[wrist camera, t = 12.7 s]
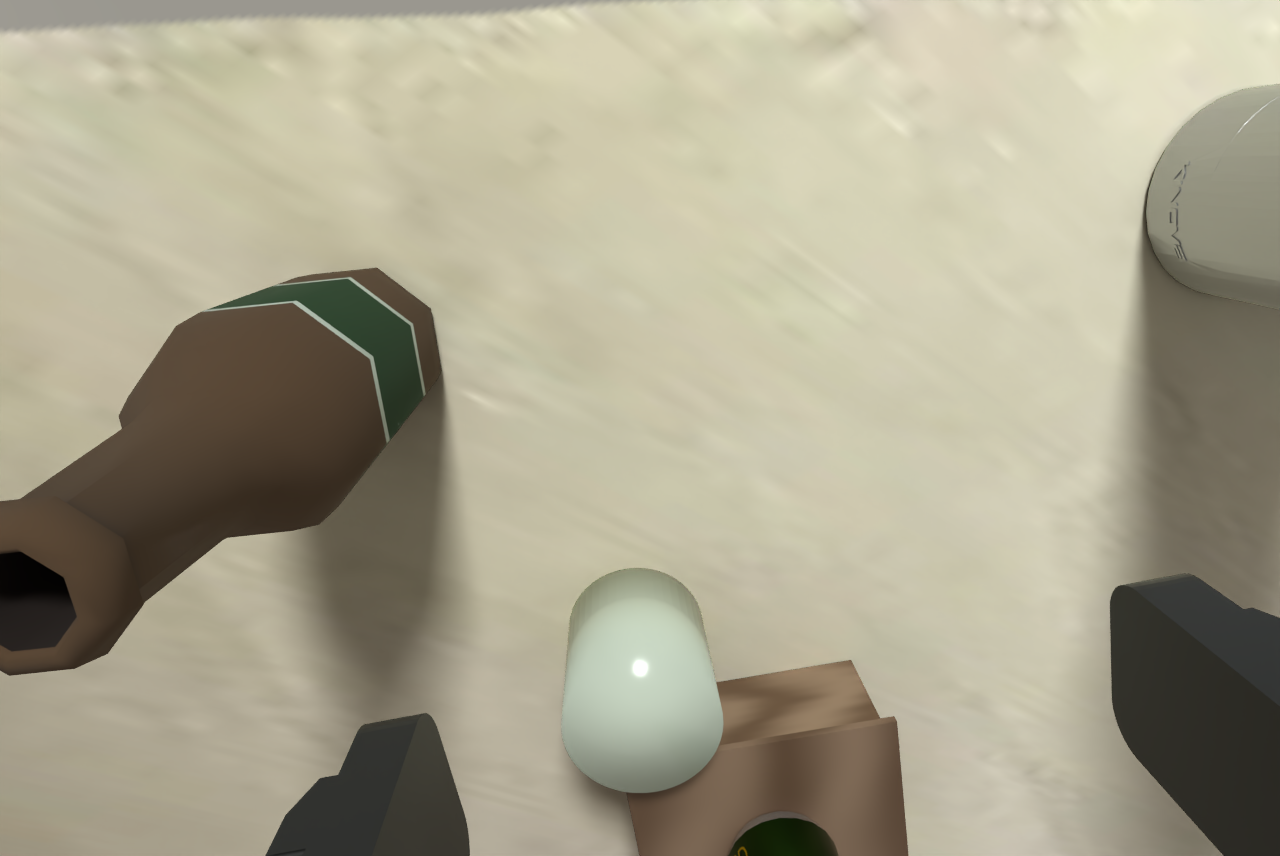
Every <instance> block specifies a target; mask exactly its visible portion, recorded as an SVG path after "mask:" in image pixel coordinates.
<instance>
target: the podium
mask: <svg viewBox="0 0 1280 856" xmlns="http://www.w3.org/2000/svg"><path fill="white" fill-rule="evenodd" d="M716 684H717V689H718V693H719V698H720V703H721V707H722V712H723V732H722V737H721V740H720V743H719V746H718V748H717V750H716V752H715V754H714V755H713V757H712V758H711V760H710V761H709V762H708V764H707V765H706V766H705V767H704V768H703V769H702V770H701V771H700V772H698V773H697V774H696V775H695V776H693V777H692V778H690V779H689V780H687V781H685V782H683V783H681V784H679V785H677V786H675V787H672V788H669V789H666V790H662V791H657V792H650V793H630V792H627V797H628V802H629V807H630V811H631V816H632V821H633V826H634V831H635V835H636V840H637V845H638V850H639V855H640V856H728V854H729V851H730V848H731V845H732V843H733V841H734V839H735V837H736V835H737V833H738V832H739V831H740V830H741V829H742V828H743V827H744V826H745V825H746V824H747V823H748V822H750V821H752V820H754V819H755V818H757V817H759V816H761V815H764V814H768V813H772V812H776V811H781V812H795V813H798V814H802V815H805V816H807V817H808V818H810V819H811V820H813V821H814V822H816V823H817V824H818V825H820V826H821V827H822V828H823V829H824V830H825V831H826V832H827V833H828V835H829V836H830V837H831V839H832V840H833V842H834V843H835V846H836V849H837V852H838V854H839V856H908V846H907V834H906V822H905V811H904V799H903V787H902V775H901V764H900V752H899V740H898V728H897V721H896V719H895V717H894V716H893V717H887V718H881V719H880V717H879V715H878V713H877V711H876V709H875V707H874V705H873V703H872V701H871V699H870V697H869V695H868V693H867V691H866V689H865V687H864V685H863V683H862V681H861V679H860V677H859V675H858V673H857V671H856V669H855V667H854V665H853V663H852V661H851V660H849V661H843V662H837V663H831V664H825V665H819V666H813V667H807V668H801V669H795V670H789V671H783V672H777V673H771V674H765V675H759V676H753V677H747V678H741V679H735V680H729V681H723V682H717V683H716Z"/></svg>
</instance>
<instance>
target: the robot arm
mask: <svg viewBox="0 0 1280 856" xmlns="http://www.w3.org/2000/svg"><path fill="white" fill-rule="evenodd" d="M1146 217H1147V228H1148V235H1149V238H1150V241H1151V244H1152V247H1153V250H1154V253H1155V254H1156V256H1157V258H1158V259H1159V261H1160V263H1161V264H1162V266H1163V267H1164V269H1165V270H1166V271H1167V272H1168V273H1170V274H1171V275H1172V276H1173V277H1174V278H1175V279H1176V280H1177V281H1178V282H1180V283H1182V284H1184V285H1185V286H1187V287H1189V288H1191V289H1192V290H1195V291H1199V292H1202V293H1206V294H1210V295H1214V296H1219V297H1223V298H1228V299H1233V300H1238V301H1242V302H1247V303H1252V304H1256V305H1261V306H1264V307H1269V308H1273V309H1278V310H1280V84H1275V85H1267V86H1261V87H1254V88H1248V89H1242V90H1240V91H1237V92H1234V93H1232V94H1229V95H1227V96H1224V97H1221V98H1220V99H1218V100H1216V101H1215V102H1213V103H1212V104H1210V105H1208V106H1207V107H1205V108H1204V109H1202V110H1200V111H1199V112H1198V113H1197V114H1196V115H1195V116H1194V117H1193V118H1192V119H1190V120H1189V121H1188V122H1187V123H1186V124H1185V125H1184V126H1183V127H1182V128H1181V129H1180V130H1179V132H1178V133H1177V134H1176V136H1175V137H1174V138H1173V139H1172V141H1171V142H1170V143H1169V145H1168V146H1167V147H1166V149H1165V151H1164V153H1163V155H1162V157H1161V159H1160V161H1159V163H1158V164H1157V166H1156V169H1155V172H1154V175H1153V178H1152V181H1151V184H1150V187H1149V192H1148V200H1147V208H1146ZM1110 629H1111V677H1112V703H1113V709H1114V713H1115V717H1116V720H1117V723H1118V726H1119V729H1120V731H1121V733H1122V735H1123V738H1124V740H1125V741H1126V743H1127V745H1128V747H1129V748H1130V750H1131V751H1132V753H1133V754H1134V755H1135V757H1136V758H1137V759H1138V760H1139V761H1140V762H1141V764H1142V765H1143V766H1144V767H1145V768H1146V769H1147V770H1148V771H1149V773H1150V774H1151V775H1152V776H1153V777H1154V778H1155V779H1156V780H1157V781H1158V783H1159V784H1160V785H1161V786H1162V787H1163V788H1164V789H1165V790H1166V792H1167V793H1168V794H1169V795H1170V796H1171V797H1172V798H1173V799H1174V801H1175V802H1176V803H1177V804H1178V805H1179V806H1180V807H1181V808H1182V809H1183V811H1184V812H1185V813H1186V814H1187V815H1188V816H1189V817H1190V818H1191V820H1192V821H1193V822H1194V823H1195V824H1196V825H1197V826H1198V827H1199V829H1200V830H1201V831H1202V832H1203V833H1204V834H1205V835H1206V836H1207V838H1208V839H1209V840H1210V841H1211V842H1212V843H1213V844H1214V845H1215V846H1216V848H1217V849H1218V850H1219V851H1220V852H1221V853H1222V854H1223V855H1224V856H1280V618H1278V617H1275V616H1273V615H1270V614H1268V613H1265V612H1262V611H1260V610H1257V609H1254V608H1249V609H1242V608H1241V607H1239V606H1238V605H1236V604H1235V603H1234V602H1232V601H1231V600H1229V599H1228V598H1226V597H1225V596H1224V595H1222V594H1221V593H1219V592H1218V591H1216V590H1215V589H1213V588H1212V587H1211V586H1209V585H1208V584H1206V583H1205V582H1203V581H1202V580H1201V579H1199V578H1197V577H1196V576H1194V575H1191V574H1179V575H1174V576H1169V577H1163V578H1158V579H1152V580H1147V581H1142V582H1136V583H1131V584H1126V585H1121V586H1118V587H1117V588H1115V590H1114V591H1113V593H1112V596H1111V601H1110ZM266 856H470V848H469V835H468V828H467V823H466V818H465V815H464V811H463V808H462V805H461V802H460V799H459V795H458V792H457V789H456V786H455V783H454V780H453V776H452V773H451V770H450V767H449V764H448V761H447V757H446V754H445V751H444V748H443V745H442V741H441V738H440V735H439V732H438V729H437V726H436V724H435V722H434V720H433V718H432V717H431V716H430V715H429V714H427V713H424V714H418V715H413V716H408V717H402V718H397V719H391V720H386V721H381V722H375V723H370V724H365V725H363V726H362V727H361V728H360V729H359V730H358V732H357V734H356V736H355V739H354V741H353V743H352V745H351V748H350V750H349V752H348V754H347V757H346V759H345V761H344V763H343V766H342V768H341V770H340V772H339V775H335V776H330V777H325V778H320V779H319V780H318V781H317V782H316V783H315V784H314V785H313V786H312V787H311V789H310V790H309V791H308V792H307V793H306V794H305V795H304V796H303V797H302V798H301V799H300V800H299V801H298V803H297V804H296V805H295V806H294V807H293V808H292V809H291V810H290V811H289V812H288V813H287V814H286V815H285V817H284V819H283V821H282V823H281V825H280V827H279V829H278V831H277V833H276V835H275V837H274V839H273V841H272V844H271V846H270V848H269V850H268V852H267V854H266Z"/></svg>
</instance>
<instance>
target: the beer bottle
mask: <svg viewBox="0 0 1280 856" xmlns="http://www.w3.org/2000/svg"><path fill="white" fill-rule="evenodd" d="M440 373H441V365H440V359H439V353H438V348H437V342H436V336H435V330H434V325H433V319H432V313H431V309H430V308H429V307H428V306H427V305H425V304H424V303H423V302H421V301H420V300H419V299H417V298H416V297H415V296H413V295H412V294H411V293H409V292H408V291H407V290H405V289H404V288H403V287H402V286H400V285H399V284H398V283H396V282H395V281H394V280H392V279H391V278H390V277H388V276H387V275H386V274H384V273H383V272H382V271H380V270H379V269H378V268H371V269H361V270H351V271H342V272H332V273H322V274H312V275H307V276H302V277H297V278H294V279H291V280H288V281H286V282H283V283H280V284H277V285H275V286H272V287H269V288H266V289H263V290H261V291H258V292H255V293H252V294H250V295H247V296H244V297H241V298H238V299H236V300H233V301H230V302H227V303H225V304H222V305H219V306H216V307H213V308H211V309H208V310H205V311H202V312H200V313H198V314H197V315H195V316H193V317H191V318H189V319H188V320H186V321H184V322H182V323H181V324H179V325H177V326H176V327H175V328H174V330H173V331H172V333H171V334H170V336H169V337H168V339H167V340H166V342H165V343H164V345H163V346H162V348H161V349H160V351H159V352H158V354H157V355H156V357H155V358H154V360H153V361H152V363H151V364H150V365H149V367H148V368H147V370H146V371H145V373H144V374H143V376H142V377H141V379H140V380H139V382H138V383H137V385H136V386H135V388H134V389H133V391H132V392H131V394H130V395H129V397H128V398H127V400H126V402H125V404H124V406H123V408H122V410H121V412H120V414H119V419H120V423H121V427H122V429H121V430H120V431H118V432H117V433H116V434H114V435H113V436H111V437H110V438H108V439H107V440H105V441H104V442H102V443H101V444H100V445H98V446H97V447H95V448H94V449H92V450H91V451H89V452H88V453H86V454H85V455H83V456H82V457H81V458H79V459H78V460H76V461H75V462H73V463H72V464H70V465H69V466H67V467H66V468H65V469H63V470H62V471H60V472H59V473H57V474H56V475H54V476H53V477H51V478H50V479H49V480H47V481H46V482H44V483H43V484H41V485H40V486H38V487H37V488H35V489H34V490H32V491H31V492H30V493H28V494H27V495H25V496H24V497H22V498H21V499H18V500H9V501H0V671H2V672H4V673H6V674H7V675H9V676H10V675H19V674H29V673H38V672H47V671H57V670H66V669H75V668H77V667H79V666H81V665H84V664H86V663H88V662H90V661H92V660H95V659H97V658H99V657H101V656H104V655H106V654H108V652H109V651H110V650H111V648H112V647H113V646H114V644H115V643H116V641H117V640H118V639H119V637H120V636H121V635H122V633H123V632H124V631H125V629H126V628H127V626H128V625H129V624H130V622H131V621H132V620H133V618H134V617H135V615H136V614H137V613H138V611H139V610H140V609H141V607H142V606H143V604H144V602H145V601H147V600H148V599H149V598H150V597H152V596H153V595H154V594H156V593H157V592H158V591H159V590H161V589H162V588H163V587H164V586H166V585H167V584H168V583H169V582H171V581H172V580H173V579H174V578H176V577H177V576H178V575H179V574H181V573H182V572H183V571H184V570H186V569H187V568H188V567H189V566H191V565H192V564H193V563H194V562H196V561H197V560H198V559H199V558H201V557H202V556H203V555H204V554H206V553H207V552H208V551H210V550H211V549H212V548H213V547H215V546H216V545H217V544H218V543H220V542H221V541H222V540H224V539H226V538H228V537H238V536H247V535H257V534H266V533H275V532H285V531H293V530H297V529H302V528H306V527H310V526H315V525H319V524H320V523H321V522H322V521H323V520H324V519H325V518H326V517H328V516H329V515H330V514H331V513H332V512H333V511H334V510H335V509H336V508H337V507H338V506H339V505H340V504H341V502H342V501H343V500H344V499H345V497H346V496H347V495H348V493H349V492H350V491H351V490H352V488H353V487H354V486H355V484H356V483H357V482H358V481H359V479H360V478H361V477H362V476H363V474H364V473H365V472H366V470H367V469H368V468H369V467H370V465H371V464H372V463H373V462H374V460H375V459H376V458H377V456H378V455H379V454H380V453H381V451H382V450H383V449H384V448H385V446H386V445H387V444H388V442H389V441H390V440H391V439H392V437H393V436H394V435H395V433H396V432H397V431H398V430H399V428H400V427H401V426H402V424H403V423H404V422H405V421H406V419H407V418H408V417H409V415H410V414H411V413H412V412H413V410H414V409H415V408H416V406H417V405H418V404H419V402H420V401H421V400H422V399H423V397H424V396H425V395H426V393H427V392H428V391H429V389H430V388H431V387H432V386H433V384H434V383H435V382H436V380H437V378H438V376H439V375H440Z"/></svg>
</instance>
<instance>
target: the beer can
mask: <svg viewBox="0 0 1280 856" xmlns="http://www.w3.org/2000/svg"><path fill="white" fill-rule="evenodd" d="M728 856H839V854H838V852H837V849H836V846H835V843H834V842H833V840H832V839H831V837H830V836H829V835H828V833H827V832H826V831H825V830H824V829H823V828H822V827H821V826H820V825H818V824H817V823H816V822H814V821H813V820H811V819H810V818H808V817H807V816H805V815H802V814H798V813H795V812H781V811H776V812H772V813H768V814H764V815H761V816H759V817H757V818H755V819H754V820H752V821H750V822H748V823H747V824H746V825H745V826H744V827H743V828H742V829H741V830H740V831H739V832H738V833H737V835H736V837H735V839H734V841H733V843H732V845H731V848H730V851H729V854H728Z"/></svg>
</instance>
